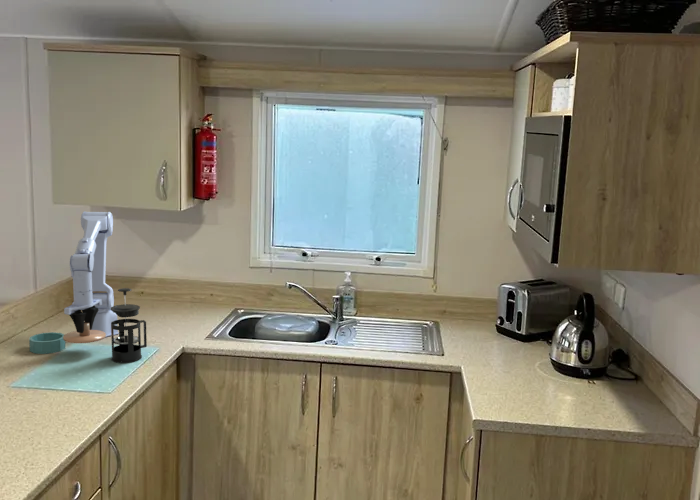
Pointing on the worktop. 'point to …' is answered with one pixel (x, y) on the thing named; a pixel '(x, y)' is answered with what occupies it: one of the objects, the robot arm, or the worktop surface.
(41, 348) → the bowl
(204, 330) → the worktop surface
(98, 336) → the lid
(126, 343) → the french press
